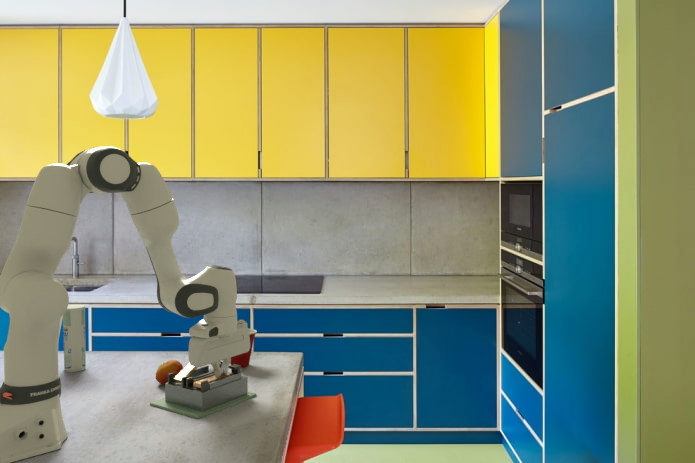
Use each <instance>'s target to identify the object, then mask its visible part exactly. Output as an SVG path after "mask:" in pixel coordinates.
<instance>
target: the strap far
mask: <svg viewBox="0 0 695 463" xmlns="http://www.w3.org/2000/svg"><path fill="white" fill-rule="evenodd" d="M197 368H199V367H195V366H192V365H191V364H190V363H188V364H187V365H186V366H184V367H183V370H182V371H181V372H180V373H179V374H178V375H177V376H176V377H175V378H174V381H175V382H179V383H182V377H185V376H190V375H191V374H192V373H193V372H194V371H195V370H196V369H197Z"/></svg>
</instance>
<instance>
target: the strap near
mask: <svg viewBox="0 0 695 463" xmlns="http://www.w3.org/2000/svg"><path fill="white" fill-rule="evenodd" d="M232 375H233V373H232V372H230V371H228V374H226V375H223V376H220V377H217V376H215V375H214V376H211V377H208V378H205V379H202V380H199V381H196V382H193V386H195V387H199V388H201V382H203V381H206V380H208V383H211V382H214V381H217V380H220V379H223V378H226V377H229V376H232Z"/></svg>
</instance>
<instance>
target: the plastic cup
mask: <svg viewBox="0 0 695 463" xmlns="http://www.w3.org/2000/svg"><path fill="white" fill-rule="evenodd" d="M248 331H249V337H250V349H249V351H248V352H246V353H243V354H240V355H236V356H233V357H231V362H230V364H229V365H233V364H236V365H241V369H243V368H247V367H249V365H250V362H251V355H252V351H253V347H254V346H253V345H254V341H255V337H256V334H257V332H258V331H257V329H254V328H248Z"/></svg>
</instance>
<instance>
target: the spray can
mask: <svg viewBox="0 0 695 463" xmlns="http://www.w3.org/2000/svg"><path fill="white" fill-rule="evenodd" d="M62 327H63V328H62V331H63V333H62V336H63V361H64V362H63V363H64V365H63V366H64V368H63V369H64V371H65V372H68V373H69V372H70V373H73V372H82V371H84V370H86V365H87V364H86V361H87V360H86V358H87V357H86V307H85V305H83V304H71V305H69V304H68V307H67V309H66V311H65V313H64V314H63V319H62Z"/></svg>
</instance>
